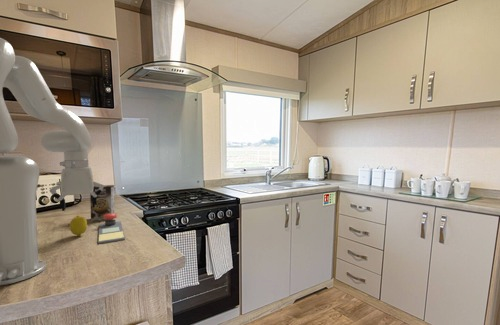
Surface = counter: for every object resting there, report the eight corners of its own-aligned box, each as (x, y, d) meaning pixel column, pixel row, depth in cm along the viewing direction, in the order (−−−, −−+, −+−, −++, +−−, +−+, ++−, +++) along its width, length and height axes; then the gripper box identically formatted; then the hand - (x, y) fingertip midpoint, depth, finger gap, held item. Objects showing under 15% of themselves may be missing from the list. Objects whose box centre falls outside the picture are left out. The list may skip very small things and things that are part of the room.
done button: (116, 218, 109) (116, 215, 108) (103, 220, 106) (103, 216, 106) (116, 216, 113) (116, 212, 113) (103, 217, 110) (103, 214, 110)
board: (124, 239, 92) (124, 233, 92) (98, 244, 88) (97, 237, 88) (120, 222, 115) (120, 217, 115) (99, 225, 111) (99, 220, 110)
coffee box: (90, 221, 117) (89, 187, 117) (94, 217, 124) (93, 185, 123) (111, 219, 120) (110, 186, 119) (115, 216, 126) (114, 184, 125)
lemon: (78, 238, 94) (78, 217, 93) (66, 237, 95) (65, 217, 94) (91, 234, 99) (90, 214, 99) (79, 233, 100) (78, 213, 100)
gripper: (46, 166, 88) (49, 214, 90) (102, 164, 97) (104, 207, 98) (50, 164, 95) (52, 209, 96) (102, 163, 103) (104, 203, 105)
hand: (79, 208), depth 97 cm, fingers open, 9 cm apart
